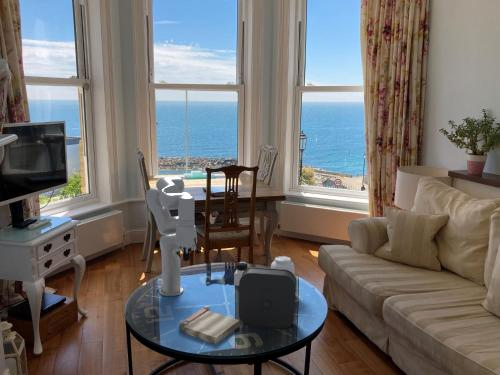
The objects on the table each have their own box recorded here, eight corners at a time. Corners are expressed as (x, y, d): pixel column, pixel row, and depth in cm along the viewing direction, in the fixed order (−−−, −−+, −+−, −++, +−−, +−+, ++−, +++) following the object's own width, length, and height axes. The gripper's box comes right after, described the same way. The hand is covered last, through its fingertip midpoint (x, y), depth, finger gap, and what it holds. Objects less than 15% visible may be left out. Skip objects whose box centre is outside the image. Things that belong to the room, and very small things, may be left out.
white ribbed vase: (298, 294, 232) (299, 258, 229) (283, 301, 223) (285, 264, 219) (279, 287, 240) (280, 252, 237) (265, 294, 231) (266, 258, 228)
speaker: (294, 321, 202) (296, 270, 197) (293, 331, 193) (295, 277, 189) (240, 317, 205) (241, 266, 201) (237, 326, 197) (238, 273, 192)
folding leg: (205, 311, 209) (205, 305, 208) (210, 313, 208) (210, 306, 207) (184, 326, 195) (184, 318, 194) (189, 327, 194) (189, 320, 193)
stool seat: (177, 330, 191) (177, 323, 191) (202, 314, 207) (202, 307, 206) (215, 344, 181) (215, 336, 180) (239, 326, 196) (239, 319, 196)
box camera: (246, 286, 240) (247, 266, 238) (233, 285, 242) (234, 264, 239) (249, 281, 247) (249, 261, 245) (236, 280, 248) (237, 260, 246)
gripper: (168, 221, 204) (169, 259, 207) (194, 226, 197) (194, 265, 200) (179, 218, 211) (179, 255, 214) (204, 223, 203) (204, 261, 206)
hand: (186, 260), depth 207 cm, fingers closed
